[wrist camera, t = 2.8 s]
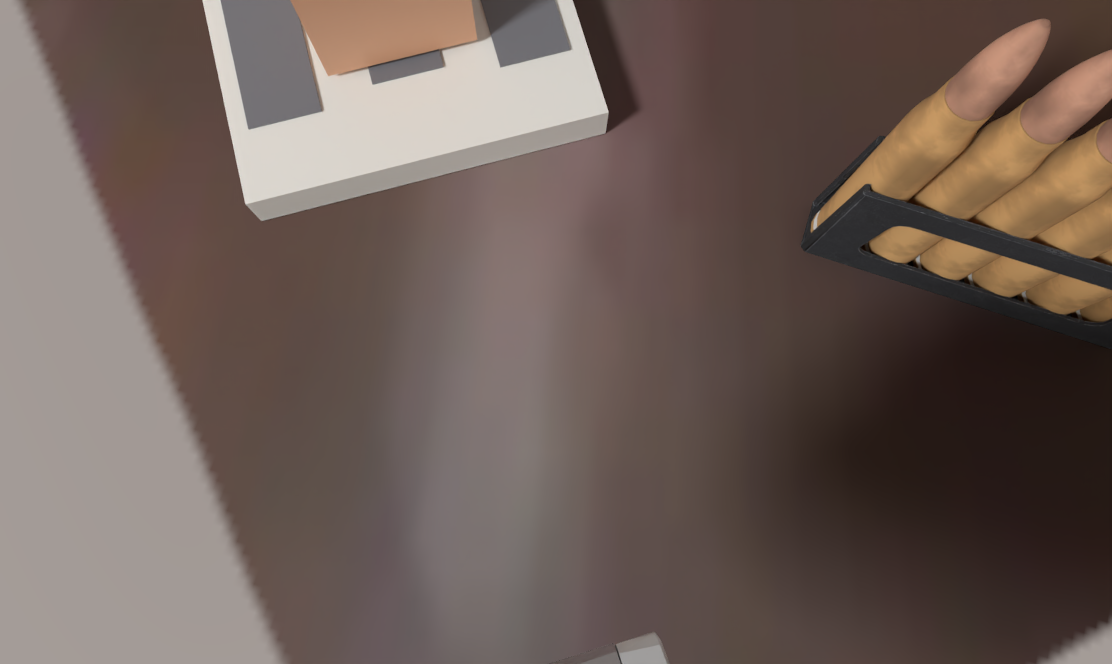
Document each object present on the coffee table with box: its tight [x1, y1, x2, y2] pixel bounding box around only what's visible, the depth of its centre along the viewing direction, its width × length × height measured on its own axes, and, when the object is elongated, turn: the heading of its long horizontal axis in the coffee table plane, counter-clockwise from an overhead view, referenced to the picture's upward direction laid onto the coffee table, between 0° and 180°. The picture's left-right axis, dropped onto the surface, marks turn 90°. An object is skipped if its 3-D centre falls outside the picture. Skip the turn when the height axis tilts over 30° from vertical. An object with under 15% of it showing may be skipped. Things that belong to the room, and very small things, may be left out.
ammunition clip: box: [801, 19, 1112, 349], centre depth 21 cm, size 11×2×12 cm, turn 71°
